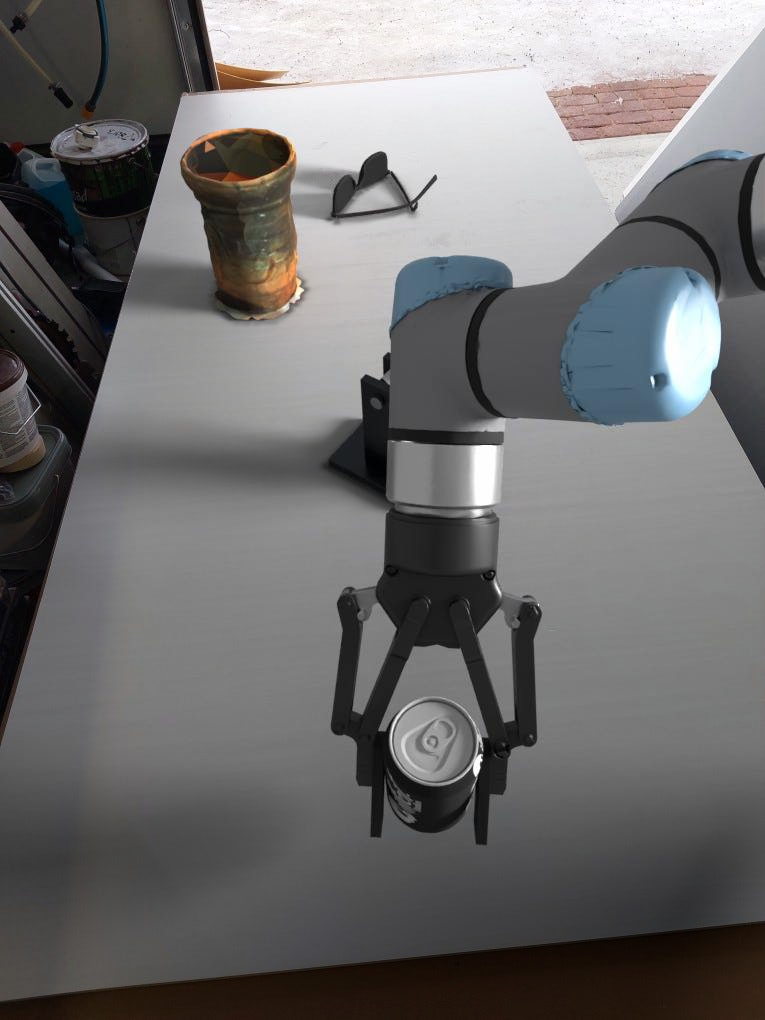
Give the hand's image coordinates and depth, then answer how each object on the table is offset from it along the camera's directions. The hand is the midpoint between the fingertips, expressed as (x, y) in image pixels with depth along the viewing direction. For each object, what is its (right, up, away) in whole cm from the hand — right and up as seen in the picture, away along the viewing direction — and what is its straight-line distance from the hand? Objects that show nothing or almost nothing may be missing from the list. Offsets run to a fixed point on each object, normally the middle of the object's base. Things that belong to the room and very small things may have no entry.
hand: (428, 828), depth 49 cm
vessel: (-21, +54, +52) cm, 78 cm away
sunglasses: (-2, +73, +65) cm, 97 cm away
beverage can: (0, +1, +5) cm, 5 cm away
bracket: (-2, +28, +31) cm, 42 cm away
